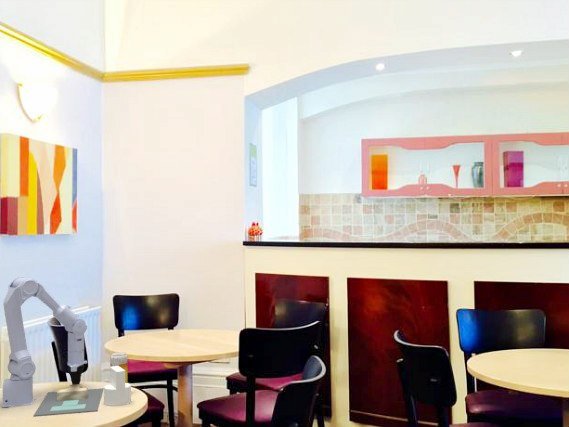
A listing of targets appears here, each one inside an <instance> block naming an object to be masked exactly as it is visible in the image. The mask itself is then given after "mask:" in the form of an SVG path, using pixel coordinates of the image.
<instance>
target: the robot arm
mask: <svg viewBox="0 0 569 427" xmlns="http://www.w3.org/2000/svg"><path fill="white" fill-rule="evenodd" d="M31 297H35V298H37V299H38V300H39V301H41V302H42V303H43V304H44V305H46V306H47V307H48V308H49V309H50V310H51V311H52V316H53V318H55V319H56V320H57V321H58V322H59V323H60V324H61V325H62V326H63V327H64V329H65V331H66V332H67V362H66V364H67V366H68V368H67V372H68V374H69V376H70V380H71V383H72V384H81V378H82V373H83V372H84V371H83V370H84V369H85V365H86V364H88V360H85V333H86V331H87V330H88V325H87V324H86V321H85V319H81V318H79V315H78V314H77V313H75V312H73V310H71V306H70V305H68V304H67V305H66V304H60V303H59V302H58V301H57V300H56V299H55V298H54V296H52V295H51V293H50V292H49V291H48V290H47V289H46V288H45V287H44V286H43V285H42V284H40V283H39V282H38V281H37V280H36V279H35V278H30V277H29V278H27V277H22V276H21V277H20V276H18V277H16V278H14V279H12V281H11V282H10V283H9V284H8V290H7V292H6V295H5V298H4V300H3V305H2V306H3V309H4V316H5V322H6V329H7V335H8V342H9V348H10V353H9V355H8V363H7V364H8V365H7V370H8V373H10V377H9V378H5V379H4V380H3V383H2V405H1V407H2V408H10V407H19V406H22V407H23V406H31V405H33V403H34V402H35V400H36V397H33V395H34V394H33V393H34V392H33V391H34V390H33V386H34V384H33V382H34V381H33V380H34V379H33V375H34V374H35V373H36V364H35V362H34V361H33V360H32V356H31V353H30V352H29V350H28V345H27V339H26V333H25V332H26V331H25V328H24V327H25V326H24V320H23V315H22V309H21V307H22V306H23V305H24V303H25V302H26V301H27V300H29V299H30V298H31ZM84 364H85V365H84ZM72 384H71V385H72Z"/></svg>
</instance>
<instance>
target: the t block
mask: <svg viewBox="0 0 569 427" xmlns="http://www.w3.org/2000/svg"><path fill="white" fill-rule="evenodd" d="M88 389H89V387H82V384H81V383H80V384H69V385H68V387H67V388H65V389H64V388H62V389H60V388H59V389H57V391H56V392H57V401H65V400H78V399H87V396H88Z"/></svg>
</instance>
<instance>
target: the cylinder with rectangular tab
mask: <svg viewBox="0 0 569 427" xmlns="http://www.w3.org/2000/svg"><path fill="white" fill-rule="evenodd" d="M131 386H132V385H131V383H130V382H128V383H125V370H124V369H122V368H121V367H119V366H113V367H109V383H108V384H106V385H105V386H103V388H104V390H103V405H105V406H109V407H118V406H125V405H127V404H131V403H132V398H131V397H132V396H131V395H132V394H131V392H132V391H131V389H132V387H131ZM130 402H131V403H130Z"/></svg>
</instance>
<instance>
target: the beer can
mask: <svg viewBox="0 0 569 427" xmlns="http://www.w3.org/2000/svg"><path fill="white" fill-rule="evenodd" d="M109 358H110V359H109V362H110V363H109V364H110V367H113V366H119V367H121V368H122V369H124V370H125V383H129V382H128V378H129V377H128V354H127V352H125V351H120V352H119V351H117V352H112V353H111V356H110V357H109ZM110 367H109V368H110Z"/></svg>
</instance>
